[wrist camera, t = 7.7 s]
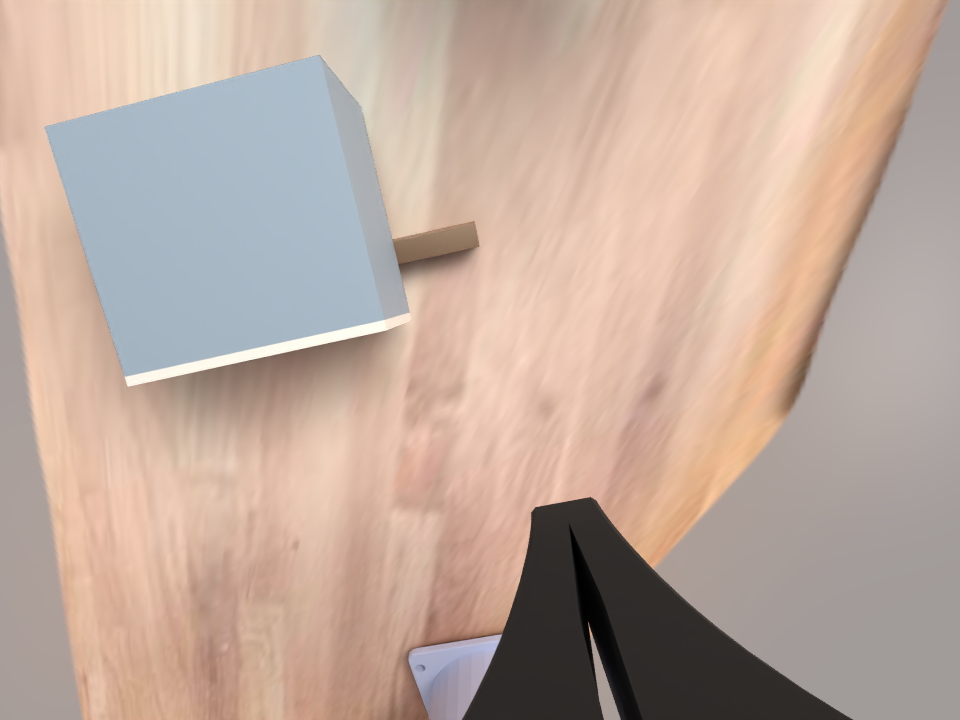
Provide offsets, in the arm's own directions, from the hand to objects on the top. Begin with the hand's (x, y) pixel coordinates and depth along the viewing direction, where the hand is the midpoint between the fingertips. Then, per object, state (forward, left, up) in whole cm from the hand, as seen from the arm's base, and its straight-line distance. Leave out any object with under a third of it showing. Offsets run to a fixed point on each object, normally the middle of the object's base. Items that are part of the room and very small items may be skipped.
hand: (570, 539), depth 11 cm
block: (+4, +8, -7) cm, 11 cm away
